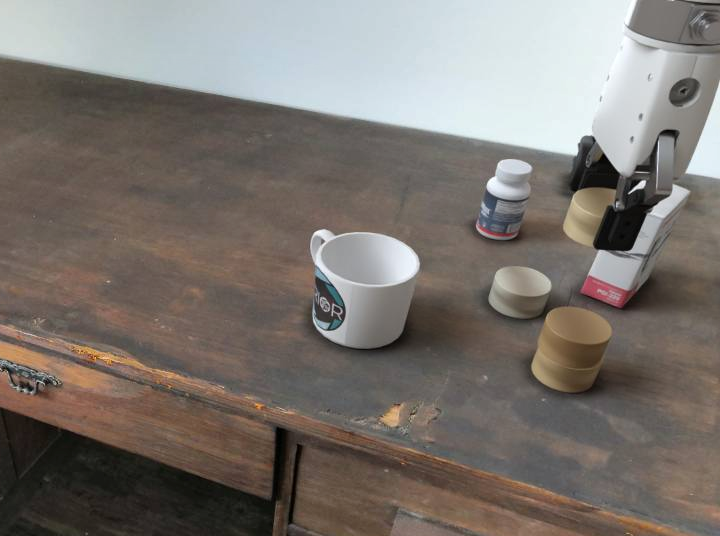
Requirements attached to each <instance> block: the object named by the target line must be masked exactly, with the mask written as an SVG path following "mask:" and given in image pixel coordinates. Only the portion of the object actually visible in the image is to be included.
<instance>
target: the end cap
mask: <svg viewBox="0 0 720 536" xmlns="http://www.w3.org/2000/svg"><path fill="white" fill-rule="evenodd" d="M592 137H594V136H593V134H591V135H583V136H582V137H581V138H580V141H579V142H578V143H577V153H576V155H575V156H574V157H573V158H572V168H571V170H570V173H569V175H568V180H567V185H568V187H569V190H572V191H577V190H578V187H579V184H580V181H581V179H582V176H583V173H584V170H585V169H591V168H590V167H586V159H587V156H588V155H589V153H590V151H591V149H592V148H593V141H592ZM615 170H616V169H615ZM649 170H650V165H637V166H636V168H635V172H649ZM641 181H642V180H631V184H630V189H629V192H630V191H631V190H632V189H633V188H634V187H635V186H637V185H638V184H639V183H640V182H641Z"/></svg>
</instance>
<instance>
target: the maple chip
mask: <svg viewBox="0 0 720 536" xmlns="http://www.w3.org/2000/svg"><path fill="white" fill-rule="evenodd" d="M615 194H616V190H614V189H609V188H598V187H594V188H585V189H582V190H579V191H577V190H576V192H575V193H574V194H573V195H572V198H571V201H570V204H569V206H568V210H567V213H566V215H565V218H564V221H563V224H562V229H563V232H564V233H565V235H566V236H567V237H568V238H570V239H571V240H572V241H574V242H576V243H578V244H580V245H583V246H585V247H588V248H592V249H595V248H594V246H593V242H594V239H595V236H596V234H597V231H598V229H599V226H600V224H601V221H602V218H603V216H604V213H605V211H606V208H607V206H608V205H613V203H614V199H615Z"/></svg>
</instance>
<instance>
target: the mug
mask: <svg viewBox="0 0 720 536" xmlns="http://www.w3.org/2000/svg"><path fill="white" fill-rule="evenodd" d="M322 240H323V241H324V242H323V243H322ZM309 245H310V246H309V247H310V254H311V258H312V261H313V263H314V265H315V266H314V267H315V270H314V271H315V273H314V287H313V303H312V323H313V324H314V326H315V328H316V329H317V331H318V332H319V333H320V334H321V335H322V336H323V337H324V338H326V339H328V340H329V341H331V342H333V343H334V344H337V345H340V346H342V347H346V348H352V349H360V350H362V349H364V350H370V349H377V348H382V347H383V346H387V345H390V344H392V343H393V342H394V341H396V340H397V339H399V338H400V336H401V335H402V333H403V332H404V328H405V324H406V320H407V317H408V314H409V310H410V306H411V303H412V302H411V301H412V299H413V296H414V292H415V288H416V285H417V281H418V277H419V274H420V270H421V263H420V258H419V256H418V254H417V253H416V252H415V250H413V248H412V247H410V246H409V245H407V244H406V243H405V242H403V241H401V240H399V239H397V238H395V237H391V236H389V235H385V234H381V233H375V232H365V231H363V232H362V231H361V232H360V231H355V232H346V233H341V234H338V235H335V234H334V233H333V232H332V231H331V230H327V229H325V228H323V229H319V230H316V231H315V232H314V233H313V235H312V236H311V239H310V244H309Z"/></svg>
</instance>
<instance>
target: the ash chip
mask: <svg viewBox="0 0 720 536" xmlns="http://www.w3.org/2000/svg"><path fill="white" fill-rule="evenodd" d="M552 285H553V284H552V283H551V280H550V279H549V278H548V277H547V276H546V275H545V274H543V273H542V272H541V271H538V270H536V269H534V268H530V267H527V266H521V265H520V266H519V265H508V266H504V267H502V268H500V269H499V270H497V271H496V273H495V275H494V278H493V280H492V284H491V288H490V291H489V294H488V302H489V304H490V306H491V307H492V309H494V310H495V311H497V312H498V313H500V314H502V315H504V316H507V317H510V318H515V319H520V320H521V319H524V320H525V319H534V318H536V317H539V316H541V314H542V313H543V312H544V310H545V307H546V305H547V301H548V299H549V296H550V293H551V290H552Z"/></svg>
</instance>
